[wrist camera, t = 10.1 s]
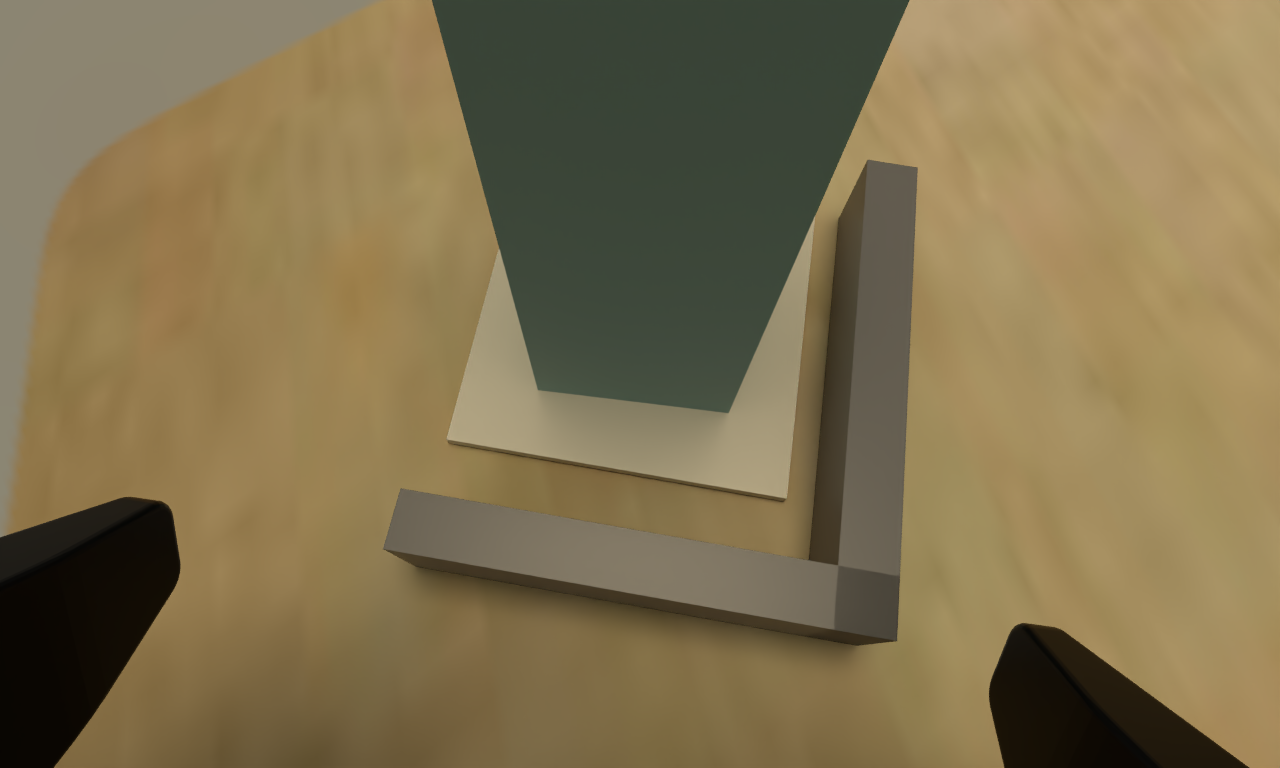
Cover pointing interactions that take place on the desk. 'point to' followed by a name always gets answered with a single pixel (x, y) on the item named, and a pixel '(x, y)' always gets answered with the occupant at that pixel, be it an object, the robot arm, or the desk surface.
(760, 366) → the corner arena
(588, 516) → the desk surface
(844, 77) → the teal block
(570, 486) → the desk surface
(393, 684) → the desk surface
